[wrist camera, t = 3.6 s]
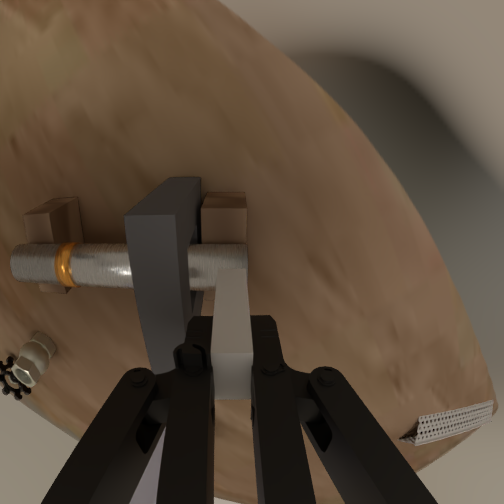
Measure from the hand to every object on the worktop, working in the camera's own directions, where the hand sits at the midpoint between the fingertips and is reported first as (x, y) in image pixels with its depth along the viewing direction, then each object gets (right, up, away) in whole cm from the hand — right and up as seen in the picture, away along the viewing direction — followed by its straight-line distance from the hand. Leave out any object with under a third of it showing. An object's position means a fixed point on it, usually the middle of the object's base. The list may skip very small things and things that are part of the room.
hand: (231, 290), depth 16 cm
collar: (-4, +3, +7) cm, 9 cm away
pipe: (-8, +2, +4) cm, 9 cm away
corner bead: (+45, -34, +29) cm, 64 cm away
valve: (-29, -12, +14) cm, 34 cm away
